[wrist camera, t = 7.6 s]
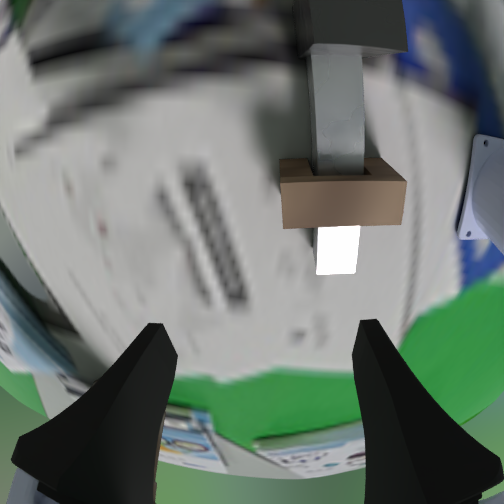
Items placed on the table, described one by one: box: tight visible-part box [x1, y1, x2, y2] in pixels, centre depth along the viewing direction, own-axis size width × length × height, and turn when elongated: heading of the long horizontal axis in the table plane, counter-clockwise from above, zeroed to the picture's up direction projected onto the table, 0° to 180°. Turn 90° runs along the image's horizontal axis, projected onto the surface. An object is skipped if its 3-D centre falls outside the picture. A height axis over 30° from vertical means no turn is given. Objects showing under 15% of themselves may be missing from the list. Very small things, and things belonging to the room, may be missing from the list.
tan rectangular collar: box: [279, 158, 407, 229], centre depth 15 cm, size 6×2×4 cm, turn 96°
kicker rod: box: [292, 0, 408, 274], centre depth 11 cm, size 5×19×7 cm, turn 6°
